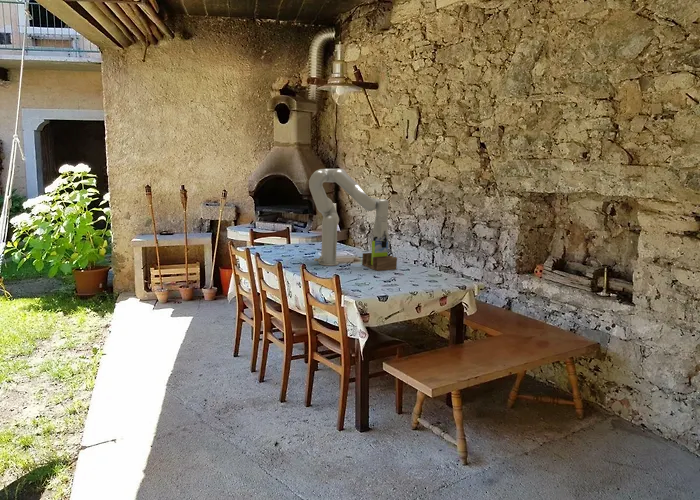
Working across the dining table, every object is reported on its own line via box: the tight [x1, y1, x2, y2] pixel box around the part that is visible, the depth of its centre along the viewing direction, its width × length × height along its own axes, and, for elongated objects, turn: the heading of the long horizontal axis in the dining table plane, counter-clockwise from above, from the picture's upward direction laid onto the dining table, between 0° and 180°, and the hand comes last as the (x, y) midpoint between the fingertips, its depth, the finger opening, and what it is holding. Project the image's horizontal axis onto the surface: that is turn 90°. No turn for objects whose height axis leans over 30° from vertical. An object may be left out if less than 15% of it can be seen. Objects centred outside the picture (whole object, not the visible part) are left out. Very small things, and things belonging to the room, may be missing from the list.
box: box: [371, 237, 390, 265], centre depth 351 cm, size 10×4×17 cm, turn 121°
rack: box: [361, 252, 398, 272], centre depth 352 cm, size 18×14×8 cm
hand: (379, 245), depth 351 cm, fingers open, 9 cm apart
